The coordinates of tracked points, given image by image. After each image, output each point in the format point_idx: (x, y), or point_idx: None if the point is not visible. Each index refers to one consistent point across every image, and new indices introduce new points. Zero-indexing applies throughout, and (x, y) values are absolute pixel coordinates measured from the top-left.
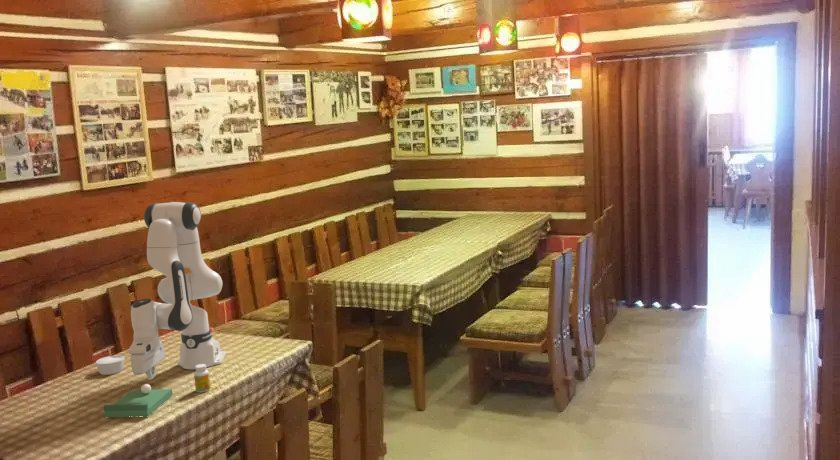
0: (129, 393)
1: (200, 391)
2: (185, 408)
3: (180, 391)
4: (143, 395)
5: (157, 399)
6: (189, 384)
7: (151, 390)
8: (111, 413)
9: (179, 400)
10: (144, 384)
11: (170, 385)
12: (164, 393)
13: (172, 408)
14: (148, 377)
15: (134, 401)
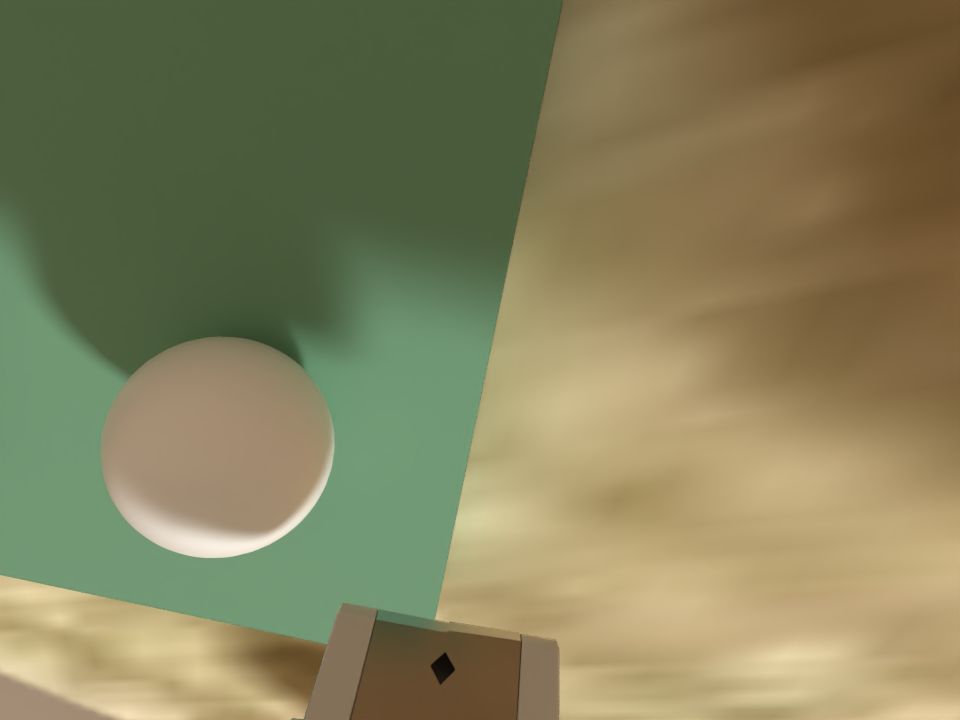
0: None
1: None
2: (68, 689)
3: (576, 638)
4: (167, 345)
5: (29, 558)
6: (817, 699)
7: (423, 430)
8: None
9: (271, 645)
10: (174, 503)
11: (930, 522)
12: (257, 607)
13: (48, 609)
14: (321, 672)
15: None
